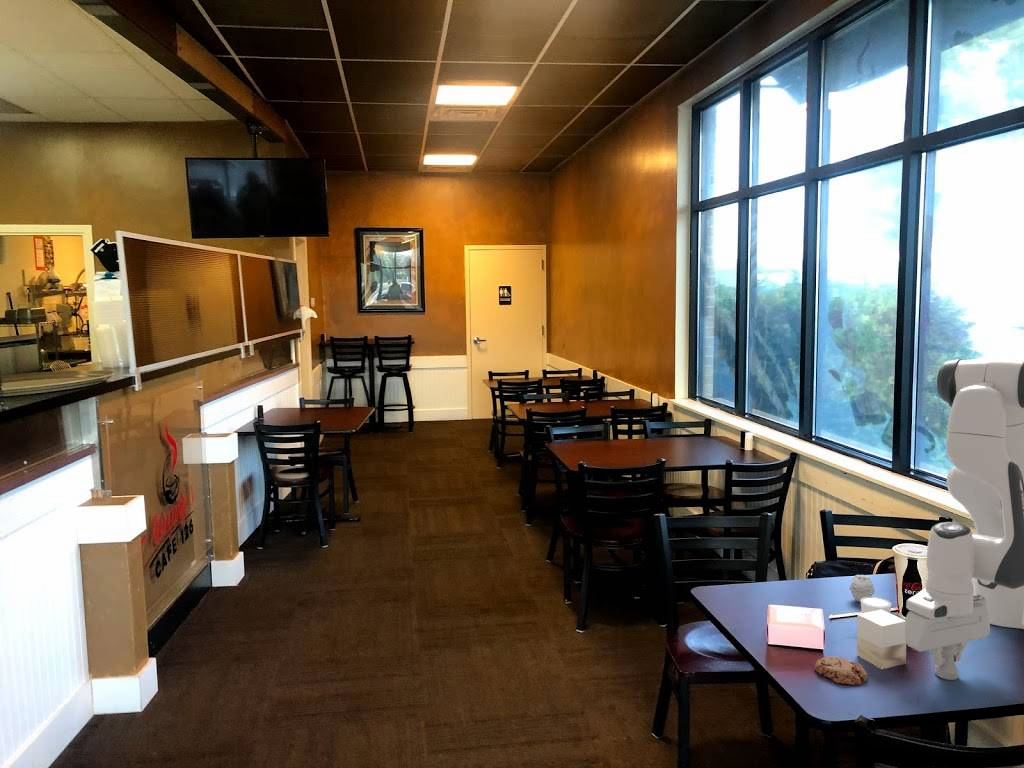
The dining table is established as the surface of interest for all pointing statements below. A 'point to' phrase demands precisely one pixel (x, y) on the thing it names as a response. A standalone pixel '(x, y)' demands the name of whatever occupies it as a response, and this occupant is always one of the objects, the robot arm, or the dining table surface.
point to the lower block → (881, 654)
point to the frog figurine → (861, 587)
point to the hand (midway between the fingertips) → (947, 662)
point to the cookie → (841, 670)
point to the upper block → (881, 628)
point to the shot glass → (874, 604)
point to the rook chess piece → (947, 664)
